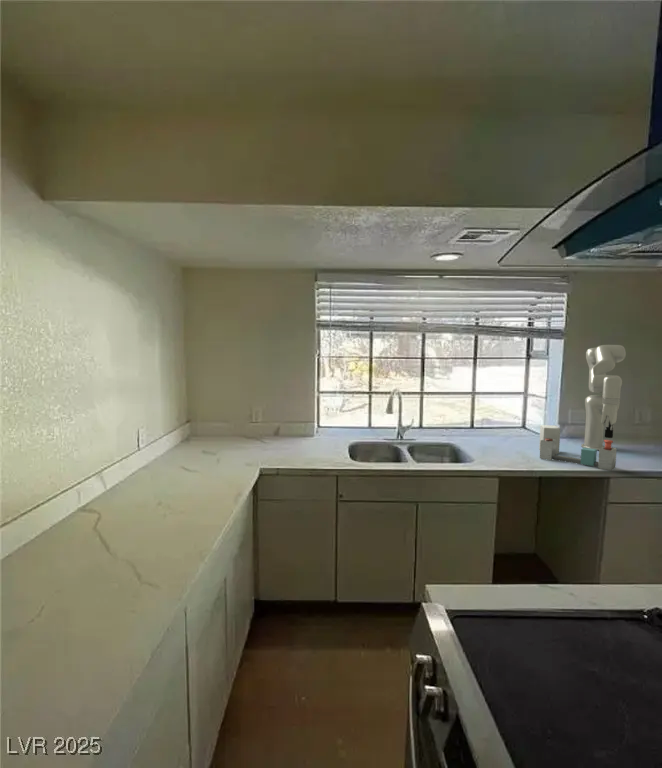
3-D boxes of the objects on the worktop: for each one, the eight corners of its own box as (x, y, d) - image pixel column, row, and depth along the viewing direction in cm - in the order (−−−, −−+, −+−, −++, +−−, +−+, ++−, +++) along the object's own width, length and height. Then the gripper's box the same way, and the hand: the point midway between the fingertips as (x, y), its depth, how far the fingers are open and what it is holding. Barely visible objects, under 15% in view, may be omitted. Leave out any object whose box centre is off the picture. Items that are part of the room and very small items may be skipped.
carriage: (583, 462, 246) (584, 447, 245) (595, 464, 242) (596, 449, 241) (580, 463, 243) (581, 449, 242) (593, 466, 239) (594, 451, 238)
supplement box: (559, 454, 264) (560, 428, 262) (542, 453, 265) (543, 427, 264) (555, 450, 272) (556, 425, 271) (538, 449, 274) (540, 424, 273)
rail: (554, 458, 255) (554, 454, 255) (600, 466, 240) (601, 462, 240) (552, 459, 253) (552, 455, 253) (599, 467, 238) (599, 463, 237)
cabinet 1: (544, 455, 261) (545, 436, 260) (556, 457, 257) (557, 438, 256) (539, 458, 255) (540, 439, 254) (551, 460, 251) (552, 441, 250)
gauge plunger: (604, 448, 239) (604, 439, 238) (613, 449, 236) (613, 440, 235) (602, 449, 236) (602, 440, 235) (611, 450, 233) (612, 441, 232)
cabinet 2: (602, 465, 242) (603, 446, 241) (615, 467, 238) (616, 448, 237) (598, 468, 236) (599, 449, 235) (611, 470, 232) (612, 451, 231)
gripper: (606, 399, 241) (604, 434, 243) (598, 402, 230) (596, 438, 232) (622, 400, 236) (620, 436, 238) (615, 403, 225) (613, 441, 227)
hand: (608, 437), depth 235 cm, fingers closed
